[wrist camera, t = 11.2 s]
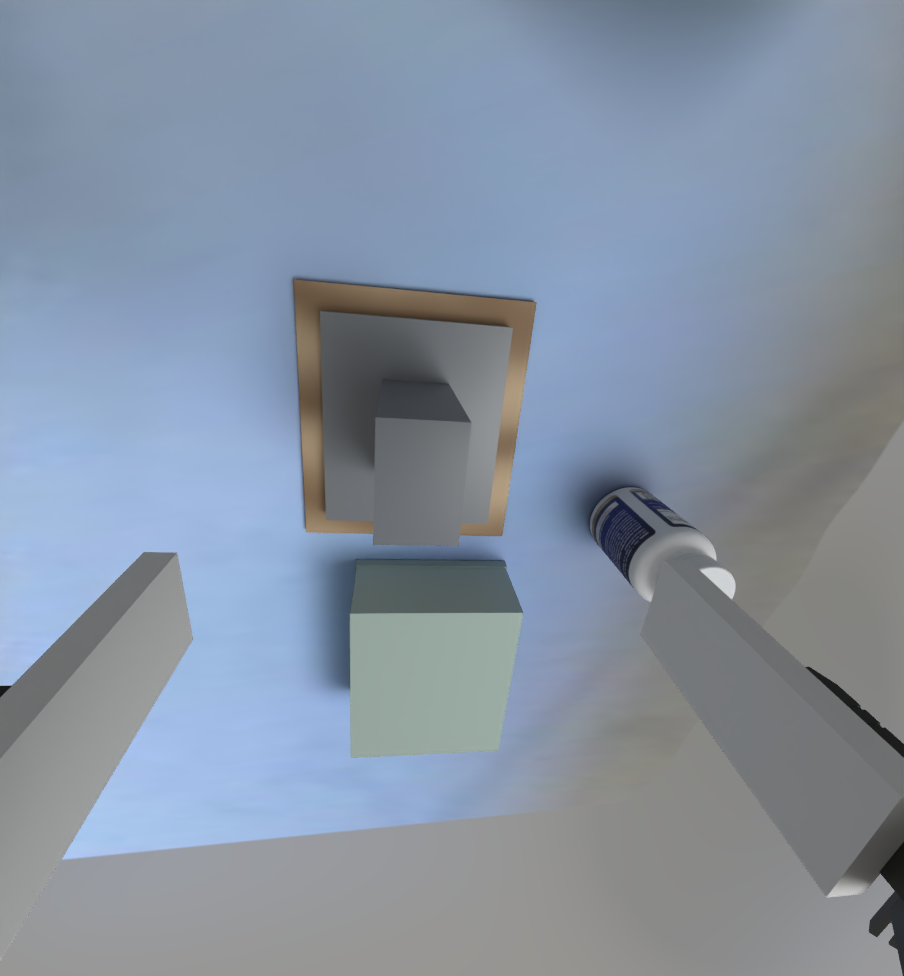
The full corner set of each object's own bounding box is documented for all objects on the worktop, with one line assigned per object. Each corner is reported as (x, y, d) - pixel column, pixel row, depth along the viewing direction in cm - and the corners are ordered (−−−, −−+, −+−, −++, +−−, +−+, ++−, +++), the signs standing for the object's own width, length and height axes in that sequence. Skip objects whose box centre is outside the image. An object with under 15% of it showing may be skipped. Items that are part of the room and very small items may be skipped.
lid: (322, 310, 25) (280, 318, 16) (509, 326, 27) (565, 342, 18) (328, 513, 30) (298, 606, 21) (484, 517, 32) (519, 605, 23)
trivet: (295, 279, 25) (293, 279, 25) (534, 302, 27) (536, 302, 27) (307, 529, 31) (306, 532, 31) (501, 533, 33) (502, 536, 33)
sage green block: (356, 559, 33) (348, 612, 27) (504, 560, 34) (525, 611, 29) (356, 691, 38) (349, 758, 32) (485, 688, 39) (499, 751, 34)
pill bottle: (595, 557, 35) (663, 647, 26) (580, 500, 33) (649, 577, 24) (660, 533, 35) (751, 615, 26) (650, 474, 33) (745, 542, 24)
